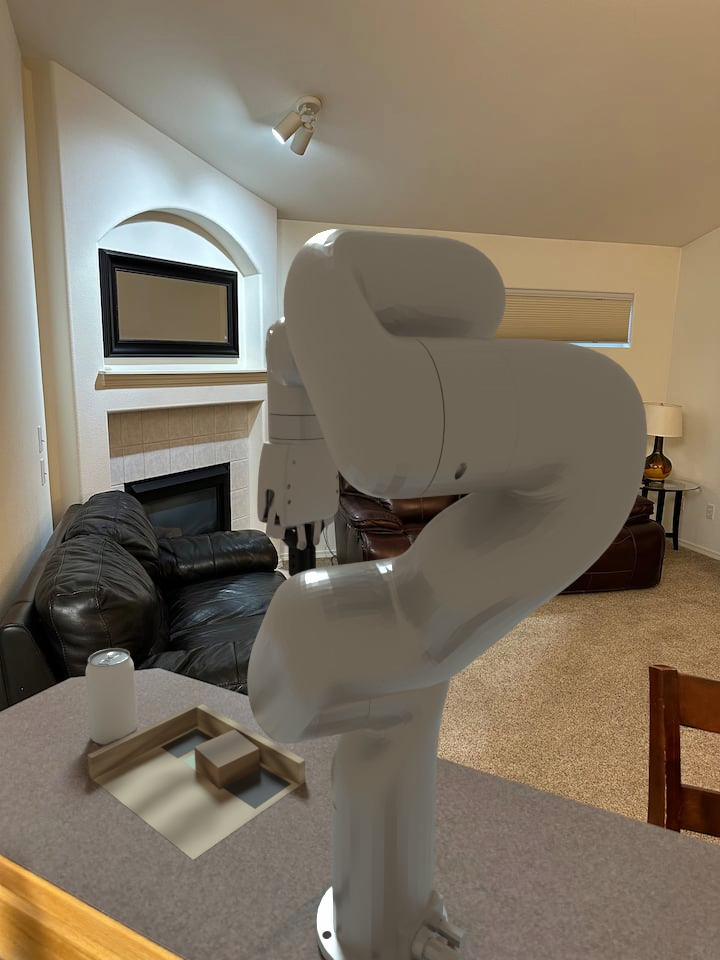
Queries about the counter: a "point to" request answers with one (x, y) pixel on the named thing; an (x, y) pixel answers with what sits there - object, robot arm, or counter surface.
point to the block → (227, 758)
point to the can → (111, 695)
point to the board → (191, 779)
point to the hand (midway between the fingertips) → (302, 576)
